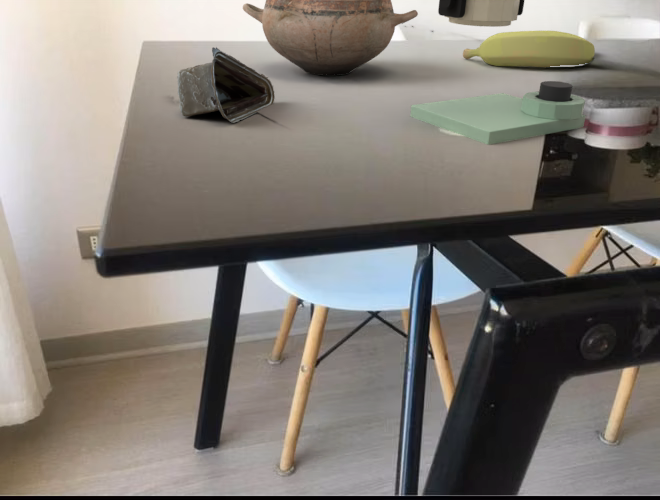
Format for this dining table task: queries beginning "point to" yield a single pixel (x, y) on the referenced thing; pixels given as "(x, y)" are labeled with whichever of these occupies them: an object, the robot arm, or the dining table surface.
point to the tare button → (555, 91)
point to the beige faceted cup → (488, 13)
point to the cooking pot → (328, 31)
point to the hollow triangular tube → (223, 88)
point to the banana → (533, 49)
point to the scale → (502, 116)
